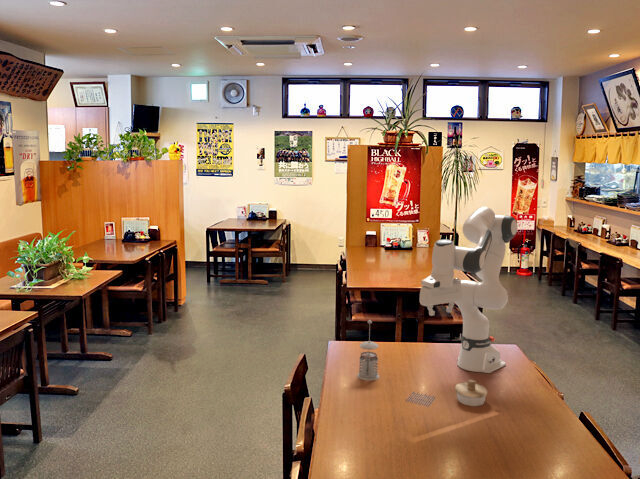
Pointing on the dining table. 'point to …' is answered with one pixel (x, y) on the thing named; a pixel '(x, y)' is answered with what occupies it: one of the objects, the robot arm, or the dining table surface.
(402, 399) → the dining table surface
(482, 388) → the drop lid
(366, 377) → the french press
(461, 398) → the ramekin
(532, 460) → the dining table surface
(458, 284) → the robot arm
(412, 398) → the woven mat
